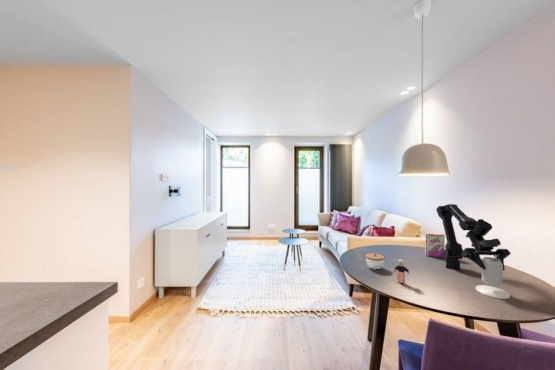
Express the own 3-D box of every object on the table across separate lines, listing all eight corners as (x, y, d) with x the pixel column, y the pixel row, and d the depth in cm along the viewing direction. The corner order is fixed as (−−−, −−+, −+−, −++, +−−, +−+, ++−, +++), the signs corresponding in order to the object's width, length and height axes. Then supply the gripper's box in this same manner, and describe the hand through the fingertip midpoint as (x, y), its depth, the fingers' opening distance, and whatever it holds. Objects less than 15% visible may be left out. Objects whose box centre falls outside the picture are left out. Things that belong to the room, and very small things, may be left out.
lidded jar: (365, 270, 140) (365, 255, 140) (366, 264, 150) (365, 250, 150) (385, 272, 136) (384, 257, 136) (383, 266, 146) (383, 251, 146)
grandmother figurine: (393, 283, 122) (393, 259, 121) (393, 280, 125) (393, 257, 125) (410, 285, 118) (410, 261, 118) (409, 282, 122) (409, 259, 122)
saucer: (477, 294, 108) (477, 292, 108) (474, 285, 118) (474, 283, 118) (512, 301, 101) (512, 299, 101) (507, 291, 110) (507, 289, 110)
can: (505, 288, 104) (505, 262, 104) (483, 284, 108) (483, 259, 108) (500, 282, 111) (500, 257, 110) (480, 278, 115) (480, 255, 114)
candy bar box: (426, 256, 164) (425, 233, 164) (425, 254, 168) (424, 232, 168) (445, 258, 159) (444, 234, 159) (443, 256, 164) (442, 233, 164)
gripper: (464, 232, 115) (480, 261, 104) (507, 232, 111) (528, 263, 101) (455, 243, 122) (468, 271, 112) (495, 244, 119) (513, 273, 109)
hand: (494, 269), depth 108 cm, fingers closed on can, 7 cm apart
